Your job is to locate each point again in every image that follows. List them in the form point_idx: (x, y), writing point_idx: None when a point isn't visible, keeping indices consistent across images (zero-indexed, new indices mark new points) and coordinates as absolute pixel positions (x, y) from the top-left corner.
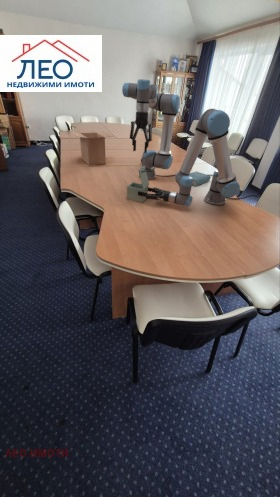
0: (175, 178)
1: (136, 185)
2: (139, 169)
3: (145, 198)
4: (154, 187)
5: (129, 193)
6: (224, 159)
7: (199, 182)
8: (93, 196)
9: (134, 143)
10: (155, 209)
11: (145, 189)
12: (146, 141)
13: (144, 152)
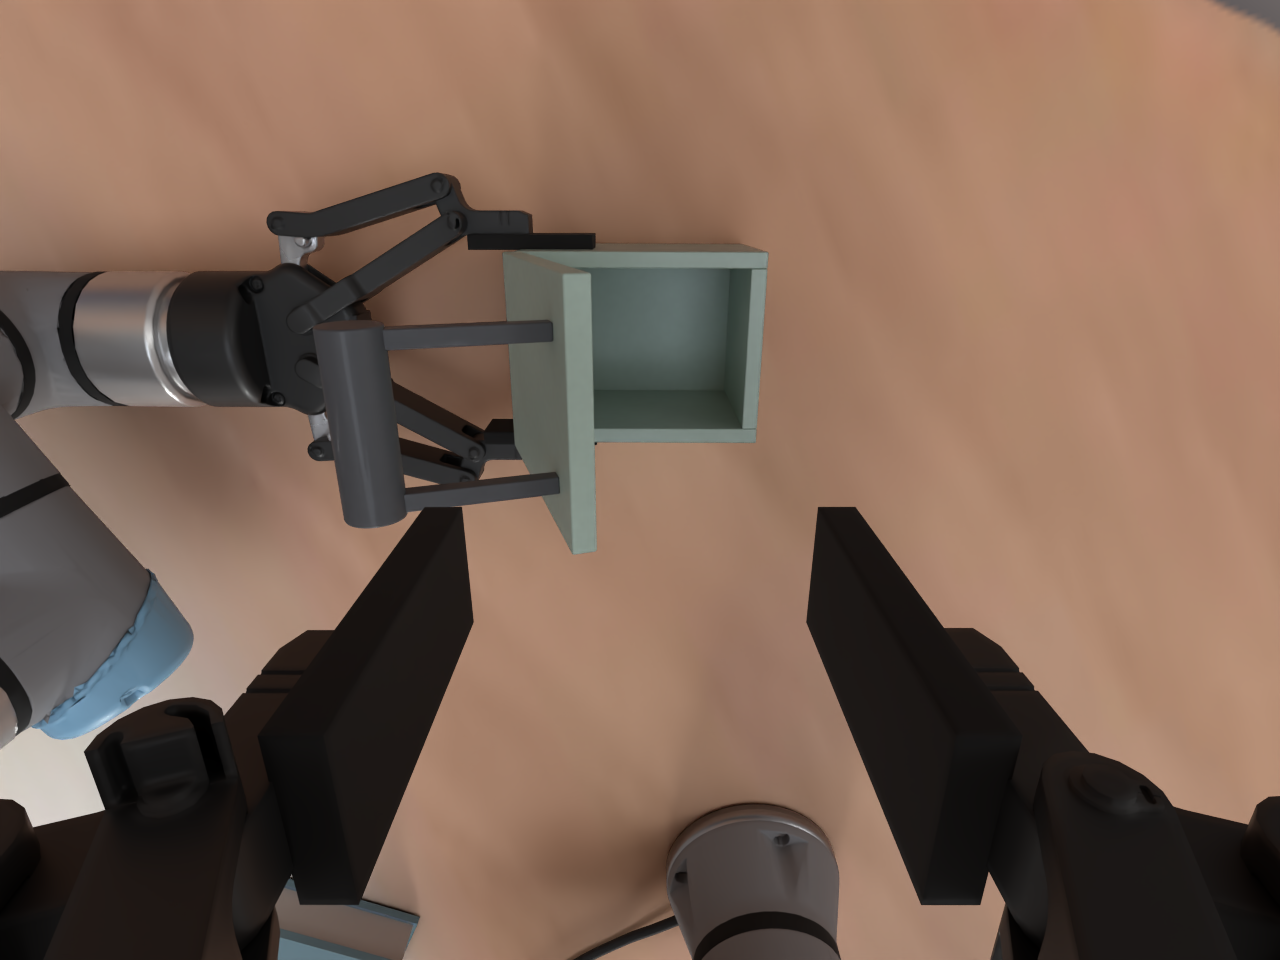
0: (145, 600)
1: (690, 420)
2: (568, 282)
3: None
4: (466, 479)
5: (716, 247)
6: None
7: None
8: (1149, 91)
9: (905, 648)
10: (333, 138)
11: None
12: (186, 758)
13: (449, 515)
